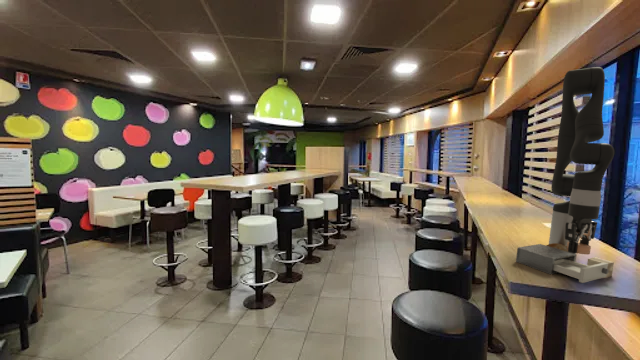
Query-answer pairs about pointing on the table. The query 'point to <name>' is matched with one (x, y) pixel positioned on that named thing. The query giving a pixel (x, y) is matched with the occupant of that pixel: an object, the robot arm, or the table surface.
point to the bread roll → (558, 246)
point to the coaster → (582, 248)
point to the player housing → (542, 257)
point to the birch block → (598, 260)
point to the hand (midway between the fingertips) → (577, 251)
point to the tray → (581, 270)
